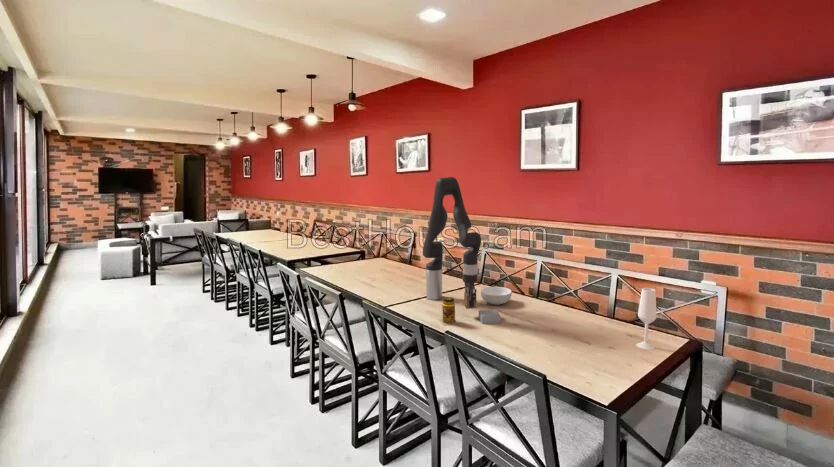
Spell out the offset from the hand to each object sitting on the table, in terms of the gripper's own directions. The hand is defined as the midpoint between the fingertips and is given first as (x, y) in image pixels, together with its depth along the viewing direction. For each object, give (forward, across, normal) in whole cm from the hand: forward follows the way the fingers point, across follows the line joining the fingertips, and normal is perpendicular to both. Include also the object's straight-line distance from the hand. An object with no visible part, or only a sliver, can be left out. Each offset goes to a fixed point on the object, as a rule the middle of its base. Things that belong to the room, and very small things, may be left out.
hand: (470, 305), depth 210 cm
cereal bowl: (+7, -19, +20) cm, 29 cm away
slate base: (+6, +7, +8) cm, 12 cm away
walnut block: (+1, 0, 0) cm, 1 cm away
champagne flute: (+5, +49, +61) cm, 78 cm away
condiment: (+6, +5, -12) cm, 14 cm away
